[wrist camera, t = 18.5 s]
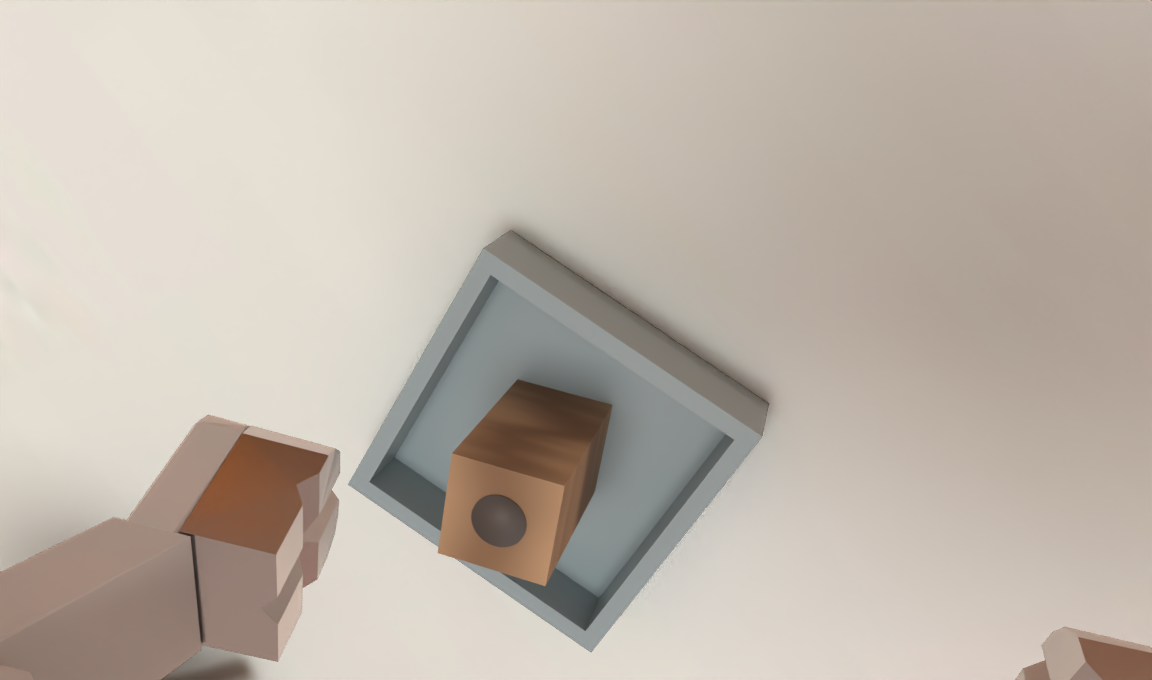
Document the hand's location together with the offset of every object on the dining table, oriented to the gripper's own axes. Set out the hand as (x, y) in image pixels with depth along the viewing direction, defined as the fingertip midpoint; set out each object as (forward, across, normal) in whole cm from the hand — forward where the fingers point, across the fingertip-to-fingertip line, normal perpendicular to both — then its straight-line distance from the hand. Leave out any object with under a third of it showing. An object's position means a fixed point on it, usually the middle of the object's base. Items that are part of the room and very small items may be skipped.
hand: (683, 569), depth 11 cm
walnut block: (+25, +2, +22) cm, 34 cm away
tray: (+26, +2, +23) cm, 35 cm away
